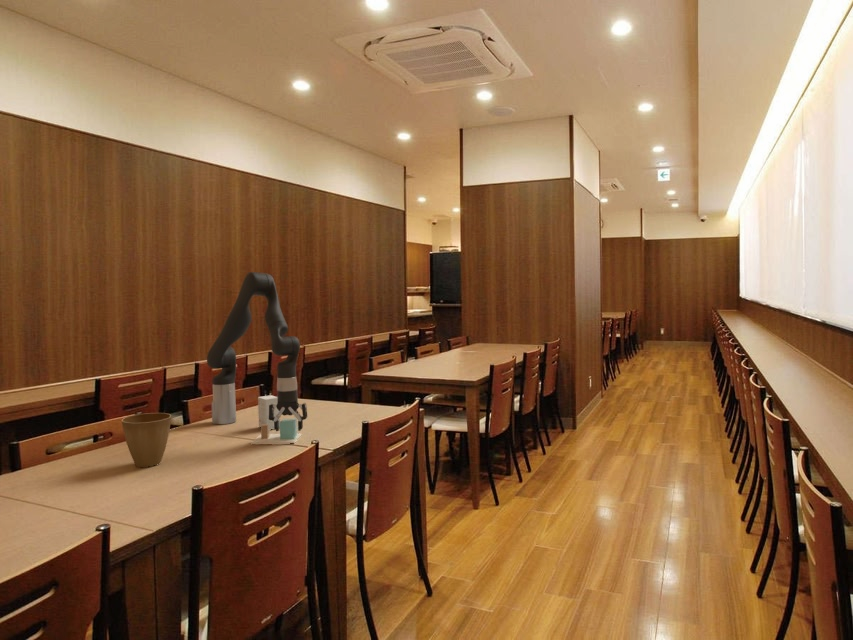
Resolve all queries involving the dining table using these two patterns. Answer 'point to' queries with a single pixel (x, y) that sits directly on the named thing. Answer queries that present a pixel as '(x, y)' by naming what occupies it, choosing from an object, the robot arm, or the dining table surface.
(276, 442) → the post board
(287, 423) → the teal block
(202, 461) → the dining table surface
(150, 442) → the plant pot
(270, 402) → the small box
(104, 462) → the dining table surface
